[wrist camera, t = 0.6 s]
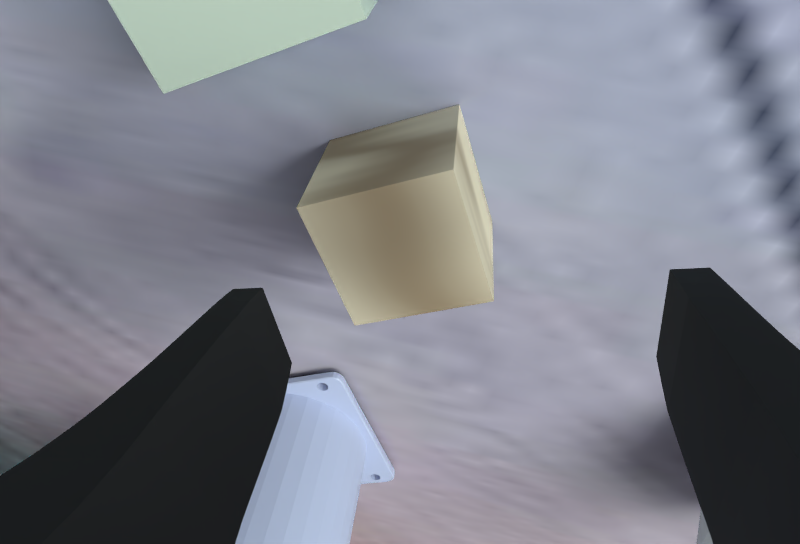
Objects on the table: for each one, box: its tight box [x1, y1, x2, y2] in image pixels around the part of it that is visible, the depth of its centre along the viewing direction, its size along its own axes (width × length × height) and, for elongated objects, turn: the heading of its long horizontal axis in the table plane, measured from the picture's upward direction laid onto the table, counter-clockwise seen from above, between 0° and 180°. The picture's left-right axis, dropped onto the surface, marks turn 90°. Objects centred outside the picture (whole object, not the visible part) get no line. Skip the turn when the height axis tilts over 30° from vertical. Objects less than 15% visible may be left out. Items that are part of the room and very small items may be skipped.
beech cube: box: [297, 105, 494, 325], centre depth 18 cm, size 4×4×4 cm
